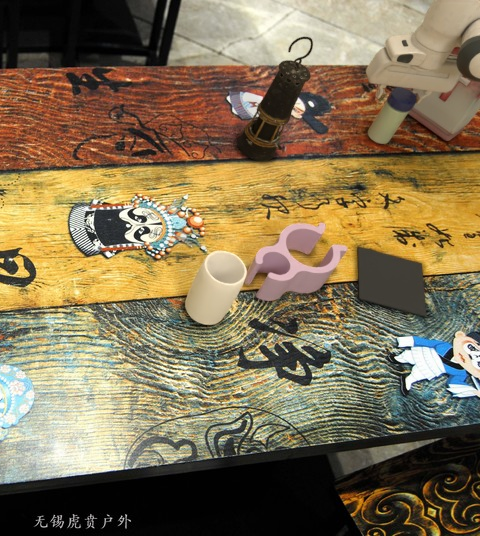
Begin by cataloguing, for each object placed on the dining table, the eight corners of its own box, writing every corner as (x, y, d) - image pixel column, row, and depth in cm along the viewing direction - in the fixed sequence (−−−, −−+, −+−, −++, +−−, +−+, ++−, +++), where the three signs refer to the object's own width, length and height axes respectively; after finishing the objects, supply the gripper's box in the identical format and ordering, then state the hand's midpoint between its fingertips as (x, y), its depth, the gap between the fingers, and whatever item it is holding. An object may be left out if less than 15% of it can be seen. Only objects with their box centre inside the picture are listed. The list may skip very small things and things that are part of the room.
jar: (389, 130, 183) (414, 93, 173) (390, 146, 179) (415, 109, 170) (366, 125, 183) (390, 87, 173) (367, 140, 179) (391, 102, 170)
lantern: (277, 163, 169) (332, 57, 146) (239, 158, 168) (288, 51, 145) (272, 135, 175) (324, 29, 151) (235, 131, 174) (281, 23, 150)
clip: (270, 313, 143) (283, 293, 138) (231, 267, 149) (242, 246, 143) (341, 277, 152) (356, 257, 146) (302, 234, 157) (315, 213, 152)
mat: (420, 264, 157) (421, 263, 157) (425, 317, 149) (426, 316, 148) (357, 247, 157) (358, 246, 157) (358, 299, 149) (359, 298, 149)
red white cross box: (396, 111, 188) (462, 9, 164) (417, 97, 193) (484, -4, 169) (444, 145, 182) (519, 45, 158) (464, 130, 187) (540, 30, 163)
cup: (180, 324, 139) (201, 281, 127) (182, 289, 144) (203, 244, 133) (224, 333, 139) (249, 291, 128) (225, 297, 144) (248, 253, 133)
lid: (386, 91, 174) (390, 84, 173) (411, 97, 174) (415, 90, 173) (388, 108, 171) (392, 101, 169) (413, 114, 171) (418, 107, 169)
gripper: (466, 47, 165) (434, 95, 176) (380, 36, 162) (353, 85, 173) (475, 65, 161) (441, 113, 172) (387, 54, 159) (359, 103, 170)
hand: (396, 99), depth 173 cm, fingers open, 7 cm apart
